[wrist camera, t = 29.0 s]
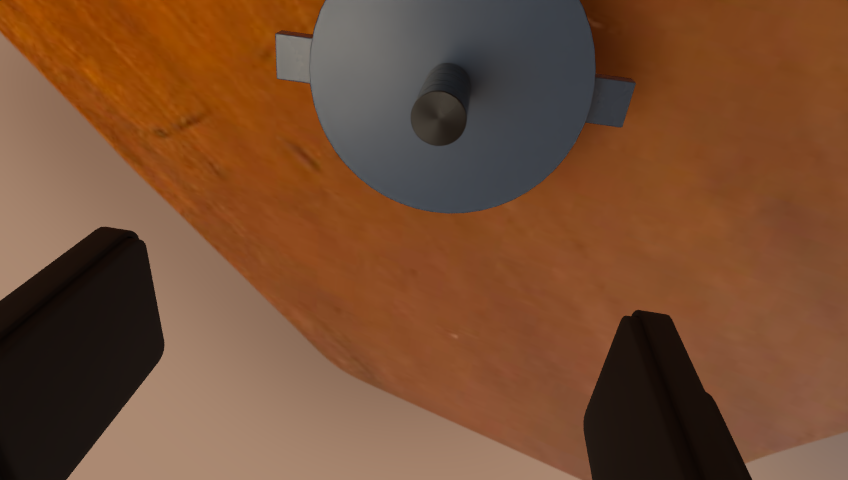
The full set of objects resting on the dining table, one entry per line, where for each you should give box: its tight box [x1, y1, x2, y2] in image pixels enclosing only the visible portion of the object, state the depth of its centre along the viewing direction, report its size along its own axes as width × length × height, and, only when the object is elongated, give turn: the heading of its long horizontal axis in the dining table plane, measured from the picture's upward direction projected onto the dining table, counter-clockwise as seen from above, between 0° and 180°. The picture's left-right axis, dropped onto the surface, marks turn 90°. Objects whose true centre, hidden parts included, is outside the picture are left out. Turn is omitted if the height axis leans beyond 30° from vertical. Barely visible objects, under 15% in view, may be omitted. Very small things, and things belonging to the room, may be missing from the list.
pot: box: [275, 31, 636, 127], centre depth 30 cm, size 14×19×6 cm
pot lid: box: [309, 0, 596, 213], centre depth 25 cm, size 15×15×7 cm
